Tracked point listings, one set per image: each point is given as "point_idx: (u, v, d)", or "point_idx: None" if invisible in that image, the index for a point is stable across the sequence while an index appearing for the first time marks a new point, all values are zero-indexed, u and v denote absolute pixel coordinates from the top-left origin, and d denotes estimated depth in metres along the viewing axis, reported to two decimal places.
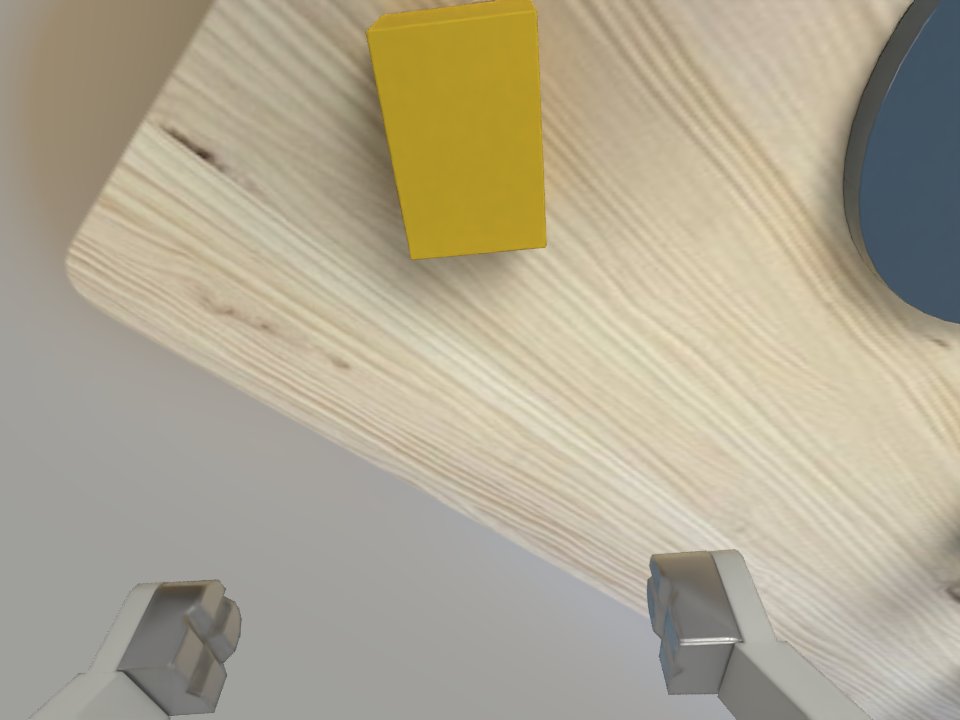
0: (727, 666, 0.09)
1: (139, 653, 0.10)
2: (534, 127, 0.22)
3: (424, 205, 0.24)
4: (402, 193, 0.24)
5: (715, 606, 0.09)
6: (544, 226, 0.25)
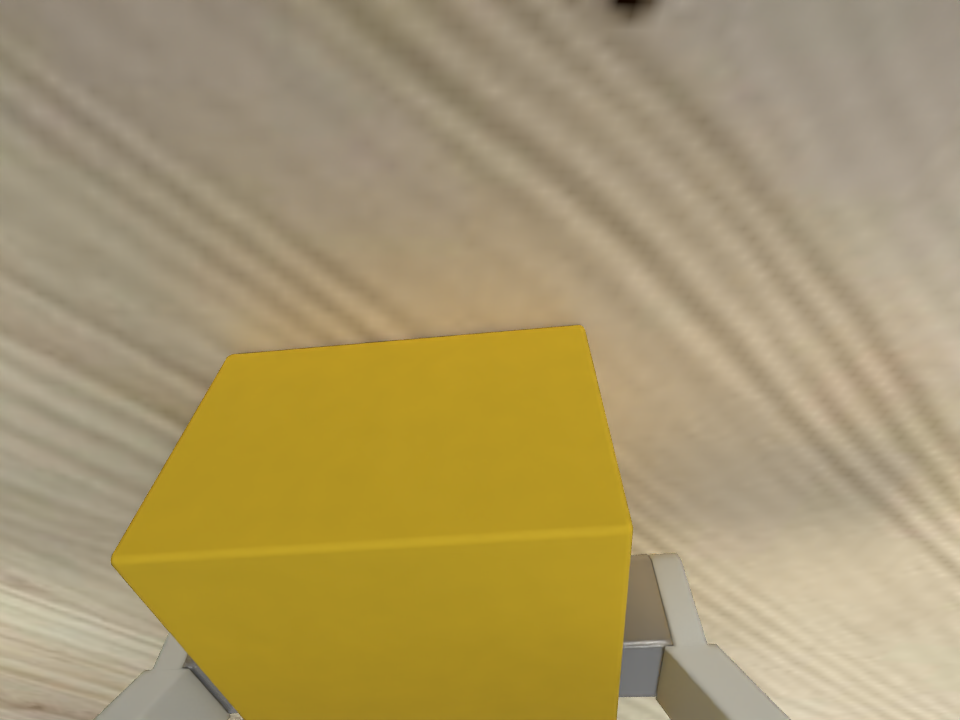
0: (661, 669, 0.09)
1: None
2: (601, 691, 0.09)
3: None
4: None
5: (649, 609, 0.09)
6: None
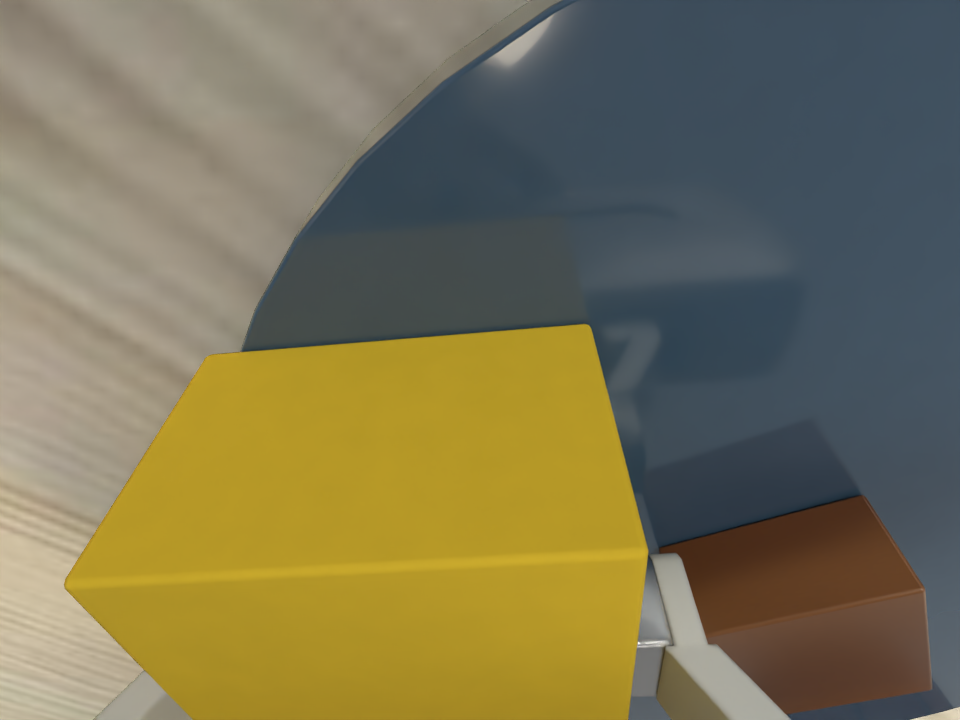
0: (661, 668, 0.09)
1: None
2: None
3: None
4: None
5: (649, 609, 0.09)
6: None
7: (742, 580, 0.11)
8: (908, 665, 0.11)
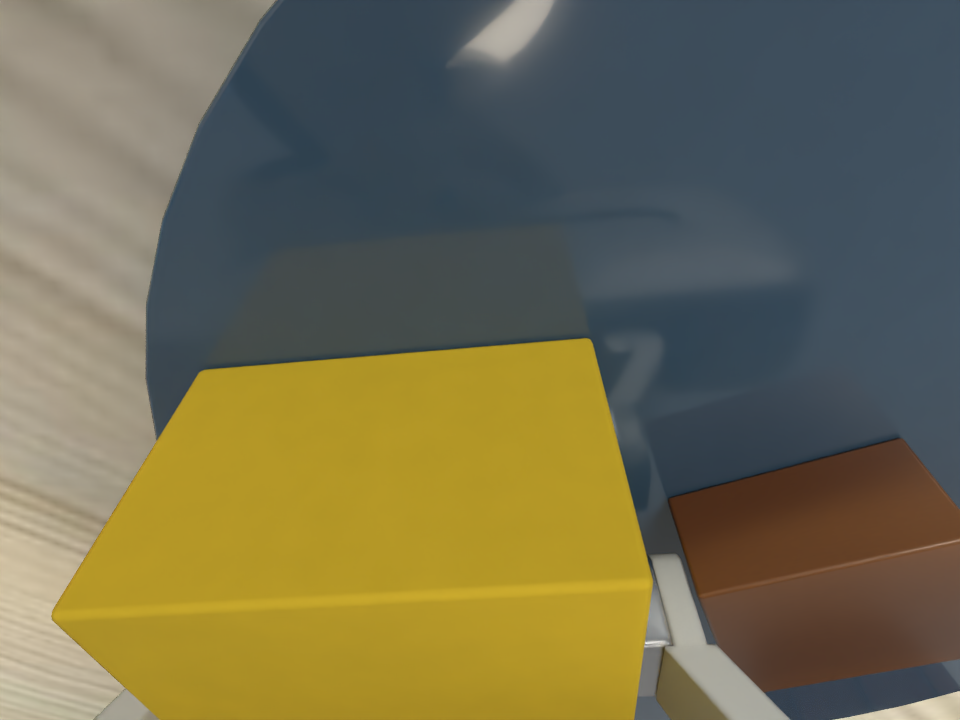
0: (661, 669, 0.09)
1: None
2: None
3: None
4: None
5: (649, 609, 0.09)
6: None
7: (766, 530, 0.10)
8: (944, 629, 0.10)
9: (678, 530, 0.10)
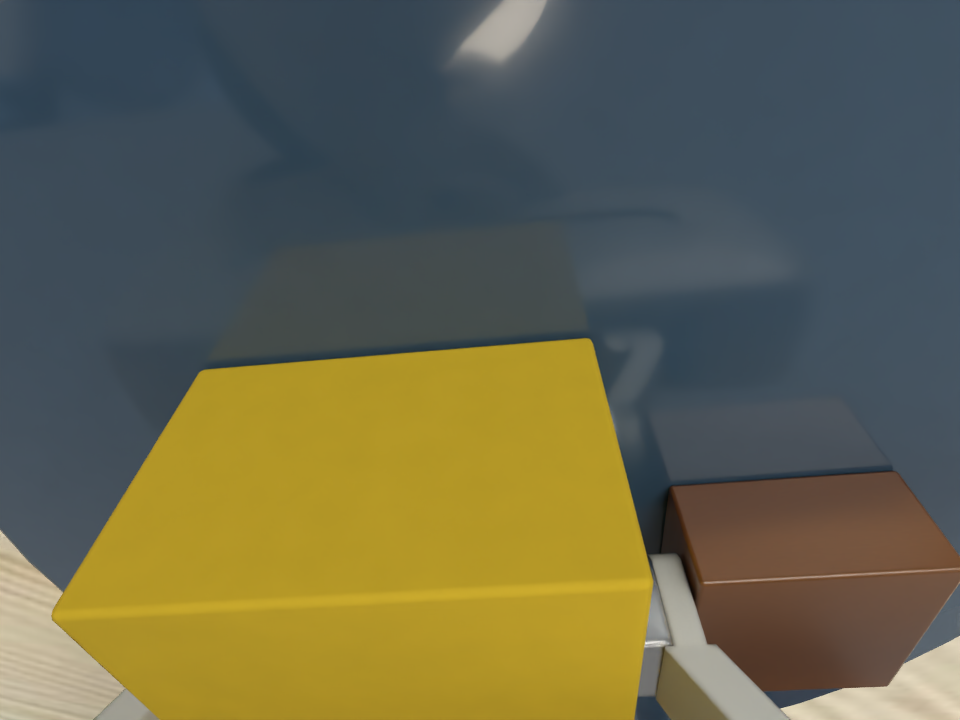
0: (661, 669, 0.09)
1: None
2: None
3: None
4: None
5: None
6: None
7: (769, 532, 0.10)
8: (889, 655, 0.10)
9: (680, 517, 0.10)
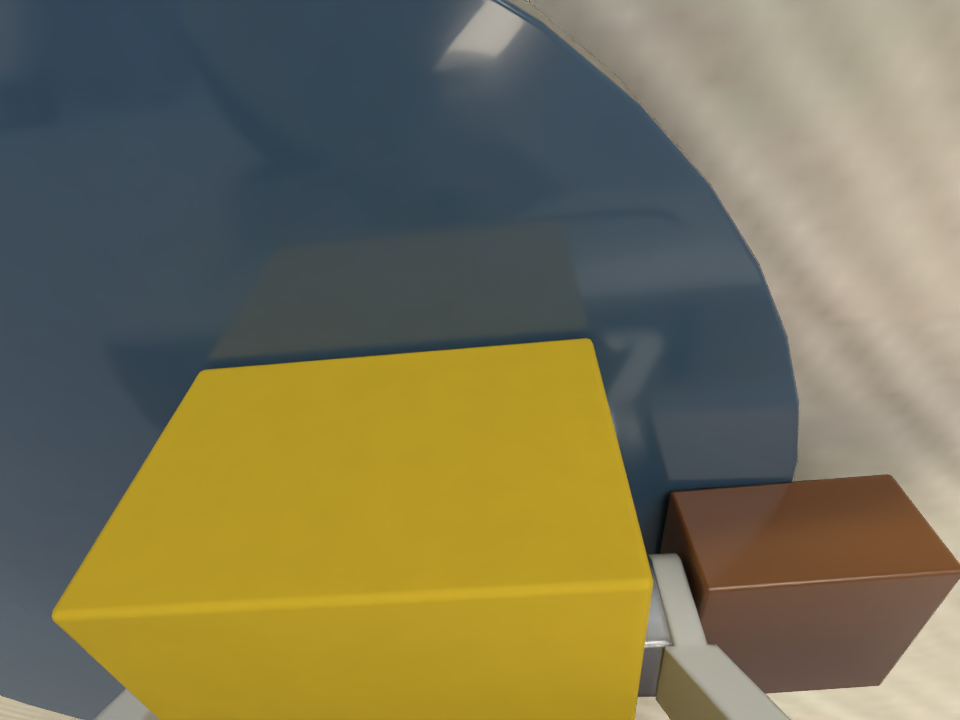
0: (661, 669, 0.09)
1: None
2: None
3: None
4: None
5: None
6: None
7: (771, 536, 0.10)
8: (883, 655, 0.11)
9: (683, 523, 0.10)
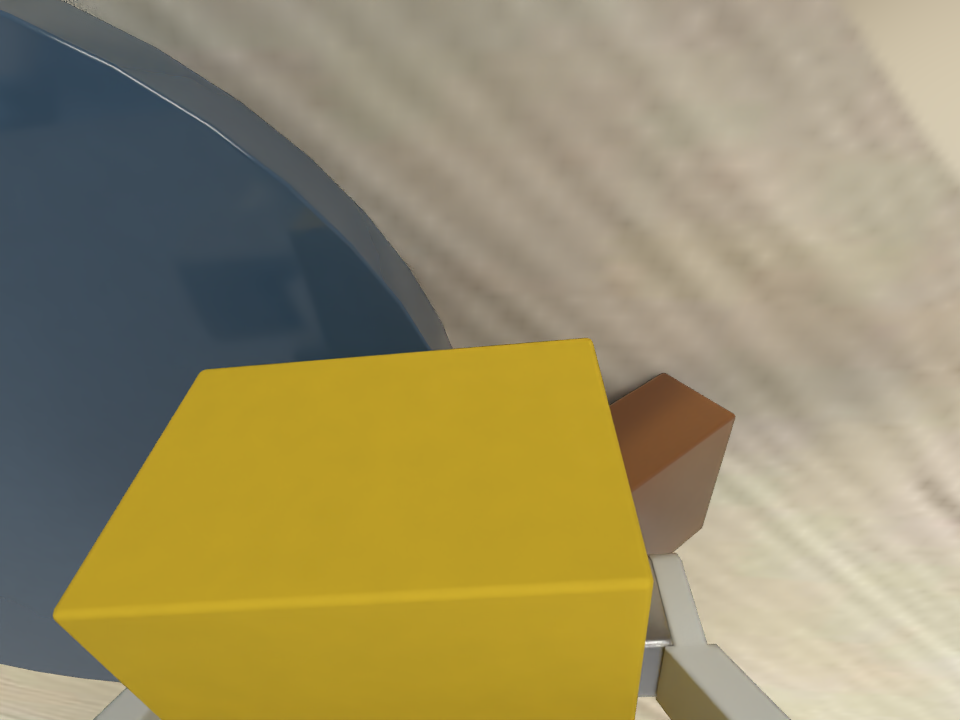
0: (661, 669, 0.09)
1: None
2: None
3: None
4: None
5: None
6: None
7: (624, 447, 0.12)
8: (703, 502, 0.14)
9: None
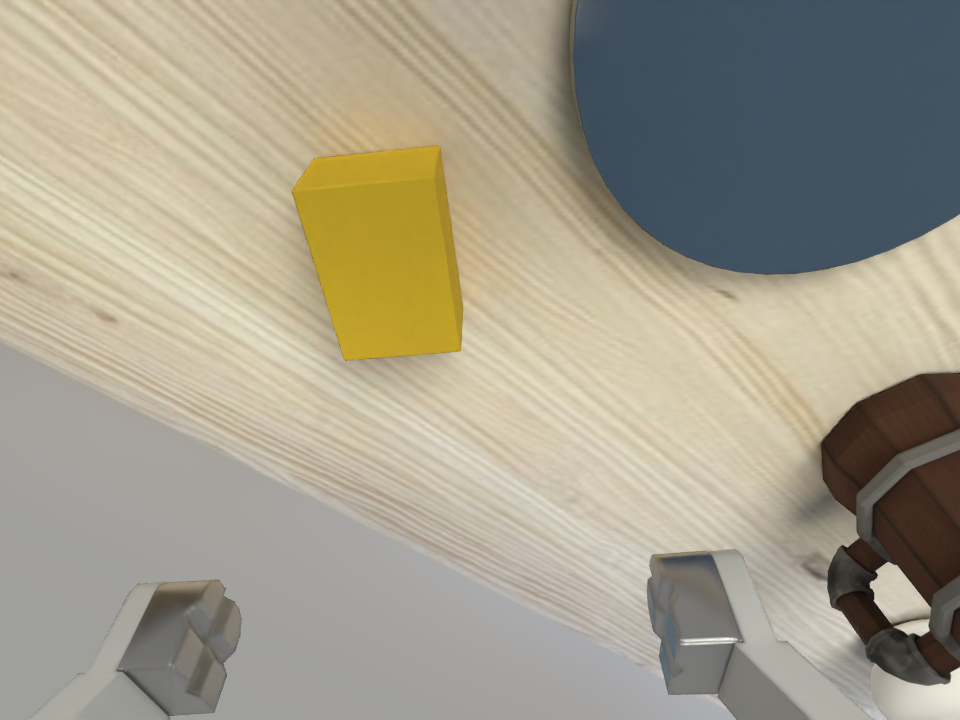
0: (727, 666, 0.09)
1: (139, 653, 0.10)
2: (440, 261, 0.26)
3: (351, 319, 0.28)
4: (332, 310, 0.28)
5: (715, 606, 0.09)
6: (457, 335, 0.28)
7: None
8: None
9: None
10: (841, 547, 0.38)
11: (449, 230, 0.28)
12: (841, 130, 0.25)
